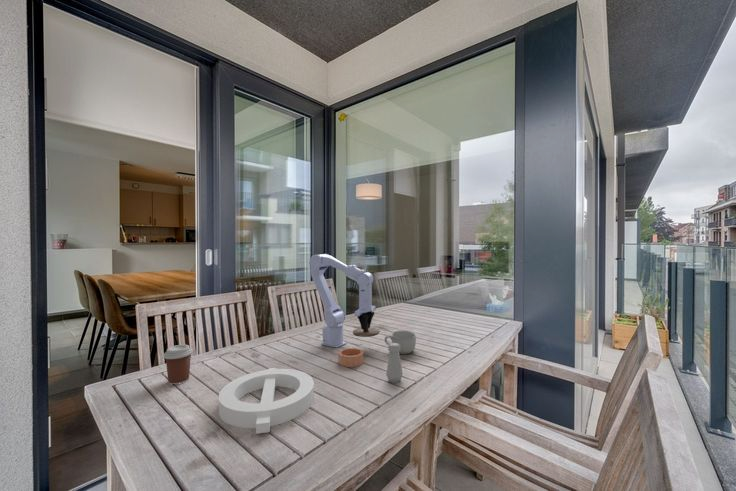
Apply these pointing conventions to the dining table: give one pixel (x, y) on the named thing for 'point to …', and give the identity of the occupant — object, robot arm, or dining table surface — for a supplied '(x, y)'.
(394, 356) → the salt shaker
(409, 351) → the teacup
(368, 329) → the lid
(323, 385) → the dining table surface
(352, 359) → the bowl
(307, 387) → the ring with crossbar
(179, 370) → the coffee cup
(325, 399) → the dining table surface
